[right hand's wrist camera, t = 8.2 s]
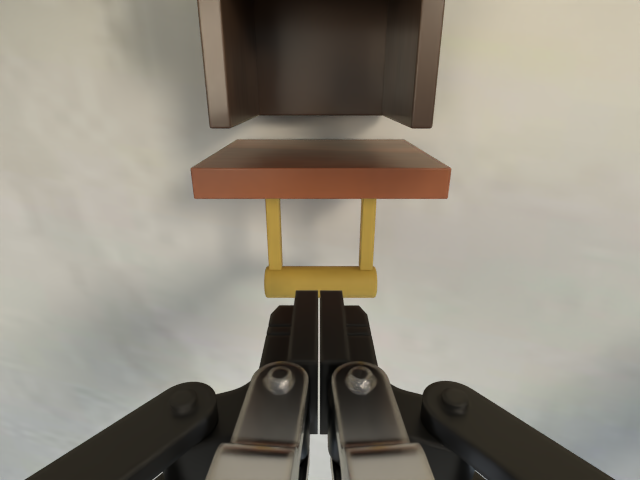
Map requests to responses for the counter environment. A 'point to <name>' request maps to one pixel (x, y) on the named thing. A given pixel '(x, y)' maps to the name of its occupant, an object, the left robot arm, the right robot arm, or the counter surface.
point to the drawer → (320, 99)
